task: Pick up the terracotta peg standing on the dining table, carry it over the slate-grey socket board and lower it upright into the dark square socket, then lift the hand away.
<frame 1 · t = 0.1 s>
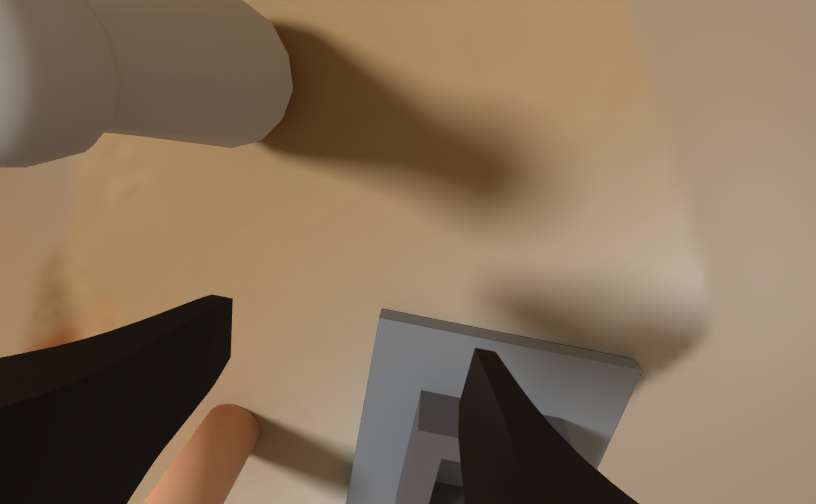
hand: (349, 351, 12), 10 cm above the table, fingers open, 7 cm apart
salt shaker: (248, 75, 20), on the table
peg: (233, 426, 27), on the table
socket board: (473, 444, 26), on the table
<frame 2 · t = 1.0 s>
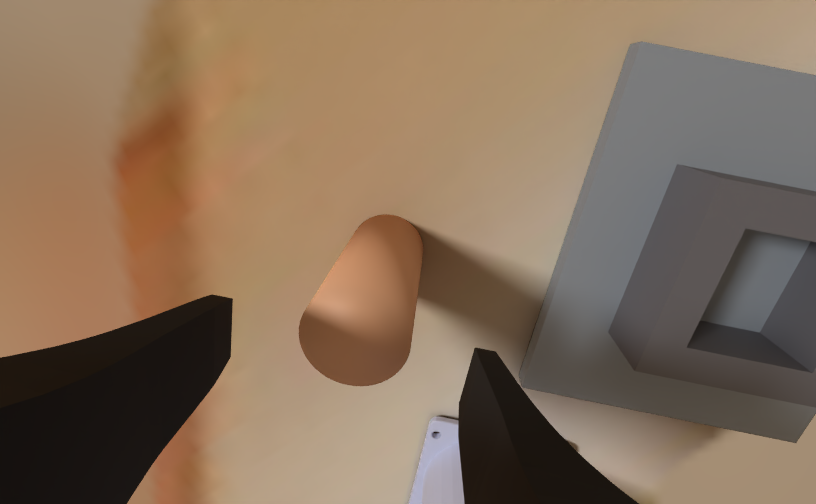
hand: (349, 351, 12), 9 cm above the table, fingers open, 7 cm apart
peg: (387, 249, 21), on the table
socket board: (716, 263, 19), on the table
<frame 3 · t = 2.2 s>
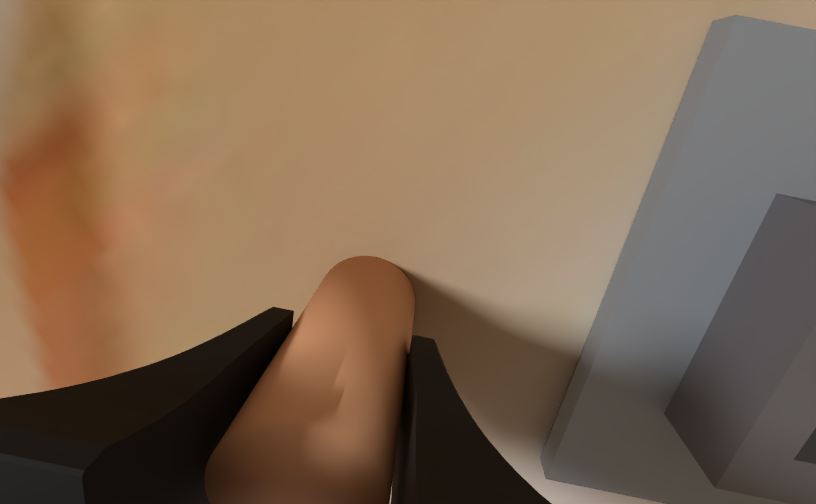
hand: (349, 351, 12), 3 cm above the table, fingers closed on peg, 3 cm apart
peg: (367, 300, 15), on the table, touching gripper
socket board: (813, 324, 14), on the table
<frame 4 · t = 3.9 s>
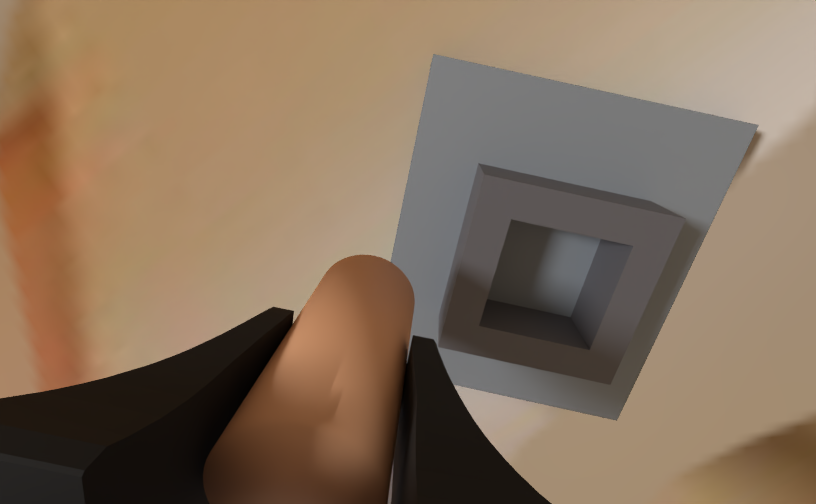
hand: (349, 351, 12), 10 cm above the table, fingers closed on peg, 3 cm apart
peg: (366, 299, 15), point 7 cm above the table, touching gripper
socket board: (533, 254, 22), on the table
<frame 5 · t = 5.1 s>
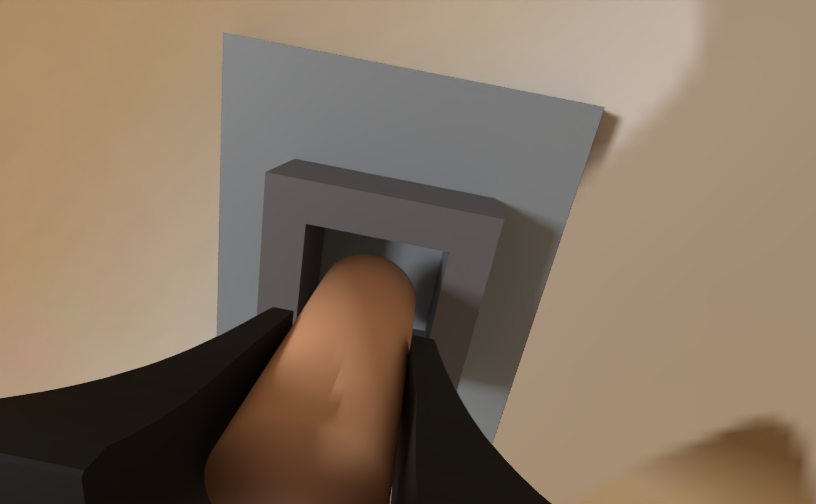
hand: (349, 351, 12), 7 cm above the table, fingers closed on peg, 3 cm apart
peg: (367, 299, 15), point 4 cm above the table, touching gripper
socket board: (381, 261, 19), on the table
when the fingers open (5 cm above the table, at t = 5.9 s): peg stays where it is, resting on socket board.
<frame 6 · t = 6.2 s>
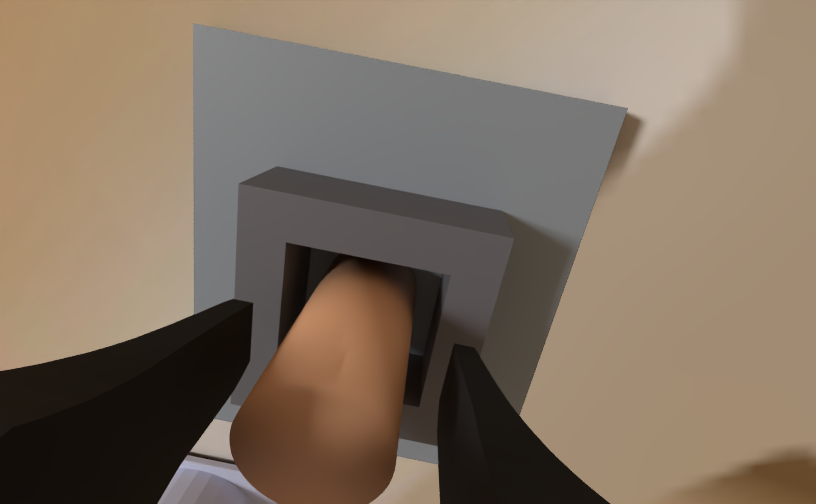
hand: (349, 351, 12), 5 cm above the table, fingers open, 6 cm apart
peg: (371, 287, 16), point 1 cm above the table, touching socket board
socket board: (375, 278, 17), on the table
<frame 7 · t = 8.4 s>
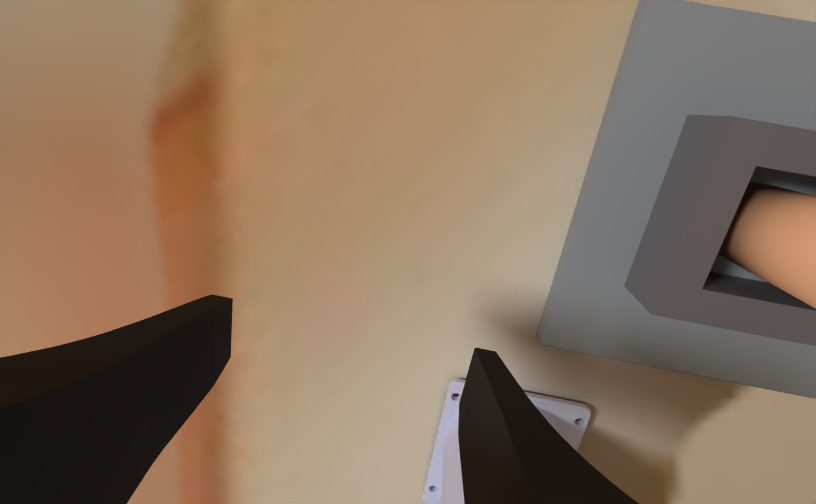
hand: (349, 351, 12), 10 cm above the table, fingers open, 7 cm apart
peg: (742, 220, 19), point 1 cm above the table, touching socket board
socket board: (729, 217, 20), on the table
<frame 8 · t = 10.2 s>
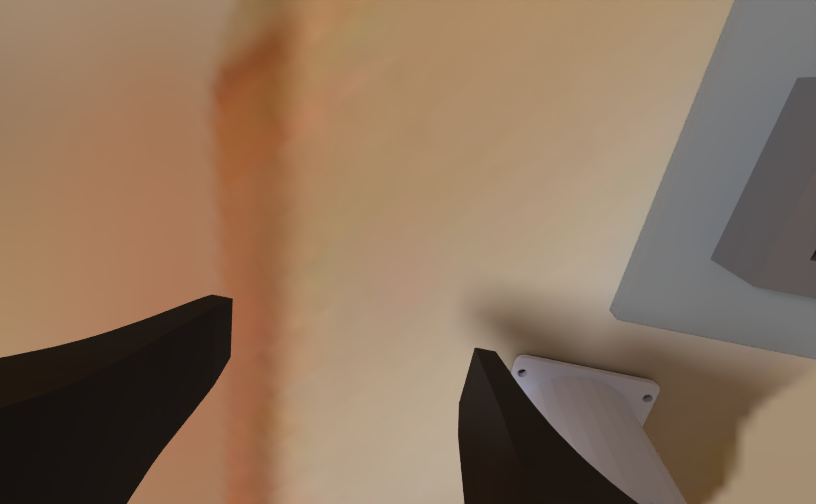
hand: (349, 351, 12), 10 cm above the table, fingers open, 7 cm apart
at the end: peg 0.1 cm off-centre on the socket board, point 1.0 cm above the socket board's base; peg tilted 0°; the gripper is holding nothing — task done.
